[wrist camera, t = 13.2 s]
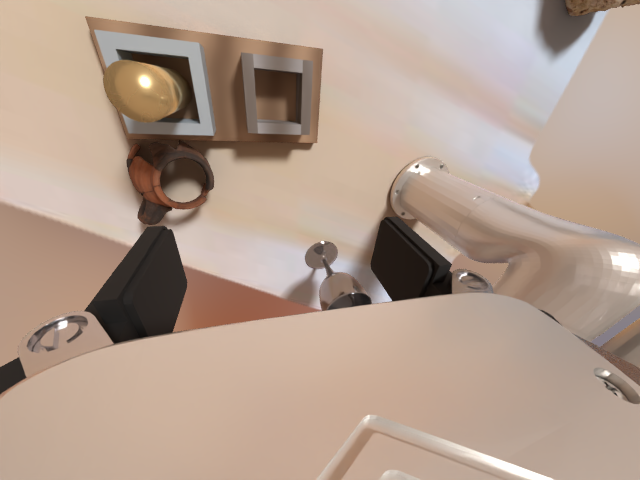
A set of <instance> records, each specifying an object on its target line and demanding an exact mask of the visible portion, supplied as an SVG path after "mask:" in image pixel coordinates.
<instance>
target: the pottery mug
mask: <svg viewBox="0 0 640 480" xmlns="http://www.w3.org/2000/svg"><path fill="white" fill-rule="evenodd" d="M149 148H150V150H151V155H152V159H153V165H152V164H150V163H148V162H146V161H145V160H144V159H143V158H142V157H140V156H136V157H134V156H135V154H136V153H137V151H138V150H139V149H140V146H139V145H138V144H135V145H134V146H133V147H132V148H131V150H130V152H129V155H128V159H127V167H128V172H129V175H130V179H131V180H132V183H133V185H134V187H135V188H136V190H137V191H138V192H139V193H141V195H142V196H143V202H142V204H141V206H140V208H139V212H138V219H139V220H140V221H141V222H142V223H144V224H149V225H153V224H157V223H159V222H160V221H161V220H162V218H163V217H164V215H165V214H166V213H167V212H168V211H171V210H172V207H173V208H175V209H192V208H195V207H197V206H200V205H201V204H202V203H204V202H205V201H206V198H205V196H206V195H207V193H208V192H209V191H210V190H212V189H213V187H214V176H213V172H212V170H211V168H210V165H209V163H208V161H207V160H206V158H203V155H202V154H201V153H200V152H198V151H197V150H195V149H193V148H192V147H190V146H189V145H187V144H186V143H185V142H183V141H181V140H179V144H178V147H177V149H176V150H175V149H174V148H172V147H171V146H169V145H166V144H160V143H158V142H155V143H152V144H150V145H149ZM133 158H134V159H133ZM180 158H188V159H191V160H194V161H196V162H197V163H198V164H199V165H200V166H201V167H202V168H203V170H204V172H205V175H206V183H205V184H204V185H203V188H202V191H201V193H202V194H201V195H200V196H199V197H197V198H196V199H195V200H192V201H190V202H185V203H180V202H175V201H173V200H171V199H169V198H168V197H167V196H166V195H165V194H164V192H163V191H162V188H161V185H160V176H161V173H162V170H163V169H164V167H165V166H166V165H167V164H168V163H169V162H171V161H173V160H176V159H180Z"/></svg>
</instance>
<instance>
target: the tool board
mask: <svg viewBox="0 0 640 480" xmlns="http://www.w3.org/2000/svg"><path fill="white" fill-rule="evenodd" d="M85 18H86V20H87V23H88V26H89V29H90V32H91V35H92V38H93V41H94V44H95V47H96V50H97V52H98V55H99V58H100V61H101V64H102V67H103V70H104V73H105V71H106V69H107V67H106V64H105V61H104V59H103V56H102V53H101V50H100V47H99V44H98V41H97V38H96V35H95V32H94V30H102V31H109V32H117V33H125V34H133V35H141V36H149V37H157V38H165V39H173V40H181V41H189V42H197V43H200V44H201V45H202V46H203V48H204V54H205V60H206V67H207V73H208V80H209V87H210V93H211V100H212V106H213V113H214V120H215V126H216V131H215V134H214V136H208V135H171V134H134V133H128V130H127V127H126V124H125V121H124V118H123V115H122V113H121V112H120V111H119V110H118V109H117V111H118V114H119V116H120V119H121V122H122V125H123V128H124V131H125V134H126V137H127V139H158V140H205V141H251V142H298V143H317V135H318V119H319V103H320V87H321V71H322V55H323V49H319V48H312V47H305V46H298V45H290V44H283V43H276V42H269V41H261V40H254V39H247V38H239V37H232V36H225V35H218V34H210V33H203V32H196V31H188V30H181V29H174V28H167V27H159V26H152V25H145V24H138V23H130V22H123V21H116V20H108V19H101V18H94V17H87V16H85ZM131 54H132V58H133V61H136V62H140V63H145V64H150V65H155V66H160V67H165V68H169V69H173V70H175V71H177V72H179V73H180V74H182V75H183V76H184V77H185V79H186V80H187V81H188V83H189V85H190V87H191V91H192V98H191V101H190V103H189V105H188V106H186V107H185V108H183V109H181V110H179V111H176V112H174V113H172V114H170V115H168V116H166V117H164V118H183V119H199V114H198V108H197V103H196V97H195V92H194V86H193V81H192V75H191V70H190V64H189V59H181V58H172V57H162V56H153V55H144V54H134V53H131Z"/></svg>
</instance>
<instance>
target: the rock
mask: <svg viewBox="0 0 640 480" xmlns="http://www.w3.org/2000/svg"><path fill="white" fill-rule="evenodd" d="M565 2H566V8H567V11H568V14H570V15H571V16H580V15H585V14H588V13H590V12H596V11H606V10H608V9H610V8H617V7H619V6H622V7H624V6H630V5H635V4H640V0H565Z"/></svg>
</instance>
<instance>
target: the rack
mask: <svg viewBox="0 0 640 480" xmlns="http://www.w3.org/2000/svg"><path fill="white" fill-rule="evenodd" d="M94 32H95V35H96V38H97V41H98V44H99V47H100V50H101V53H102V56H103V59H104V61H105V64H106V67H108V66H109V65H110V64H112V63H113V62H115V61H119V60H131V61H133V58H132V54H131V53H134V54H144V55H153V56H162V57H172V58H181V59H189V64H190V70H191V75H192V81H193V86H194V92H195V97H196V103H197V108H198V114H199V119H183V118H162V119H160V120H158V121H155V122H151V123H144V122H138V121H135V120H133V119H130V118H129V117H127V116H125V115H124V114H122V115H123V118H124V121H125V124H126V127H127V130H128V133H134V134H171V135H208V136H214V134H215V131H216V126H215V120H214V113H213V106H212V100H211V93H210V87H209V80H208V73H207V67H206V60H205V54H204V48H203V46H202V45H201V44H200V43H197V42H189V41H181V40H173V39H165V38H157V37H149V36H141V35H133V34H125V33H117V32H109V31H102V30H94Z"/></svg>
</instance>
